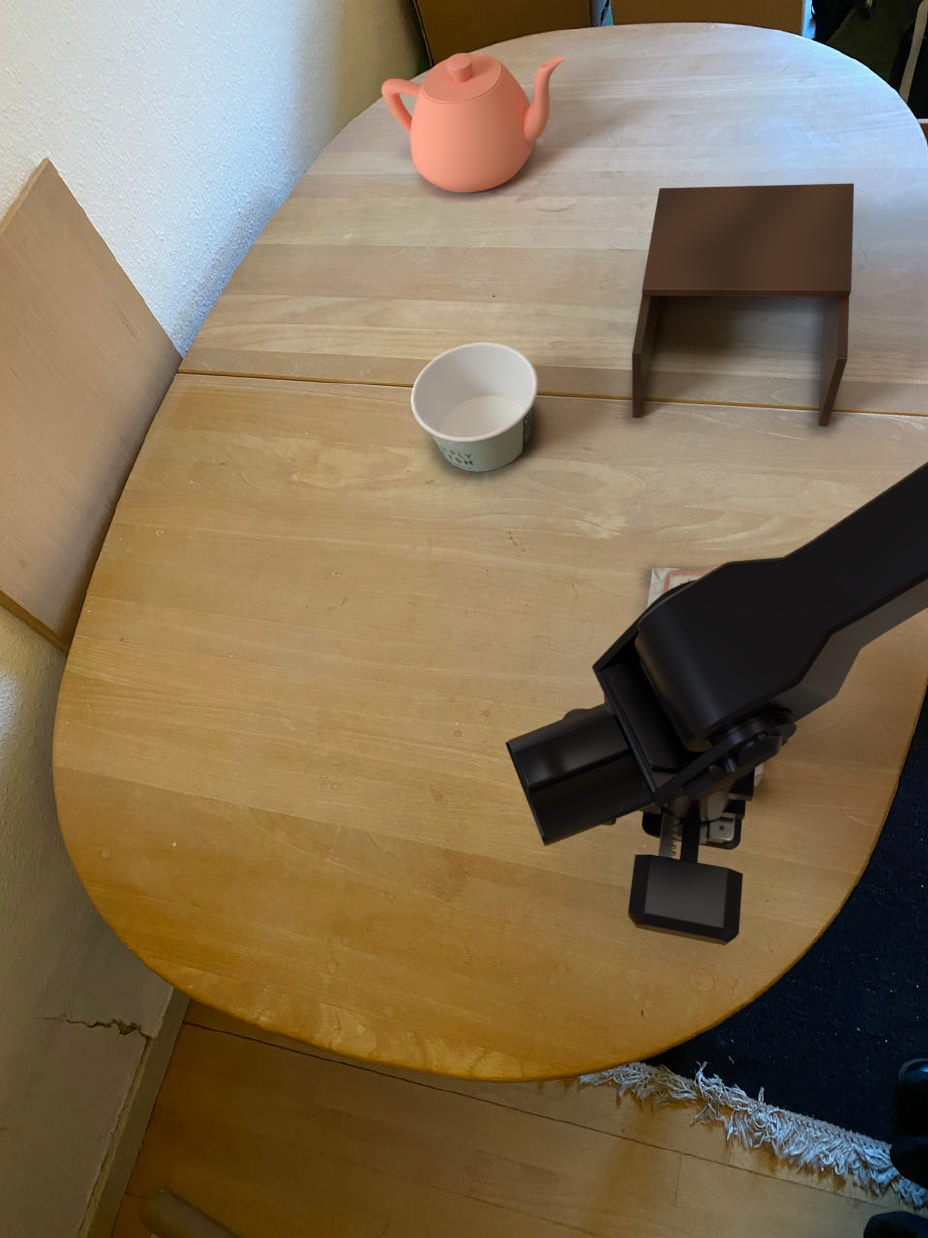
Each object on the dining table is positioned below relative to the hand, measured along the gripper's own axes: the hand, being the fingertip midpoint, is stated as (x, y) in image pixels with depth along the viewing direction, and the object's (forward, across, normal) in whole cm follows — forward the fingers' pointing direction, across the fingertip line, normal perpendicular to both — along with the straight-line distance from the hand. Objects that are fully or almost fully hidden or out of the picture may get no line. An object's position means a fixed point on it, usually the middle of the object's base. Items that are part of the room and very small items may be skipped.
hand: (689, 812), depth 59 cm
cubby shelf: (+4, -48, 0) cm, 49 cm away
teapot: (+4, -78, -32) cm, 84 cm away
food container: (+4, -36, -23) cm, 42 cm away
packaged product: (+4, -12, 0) cm, 13 cm away
